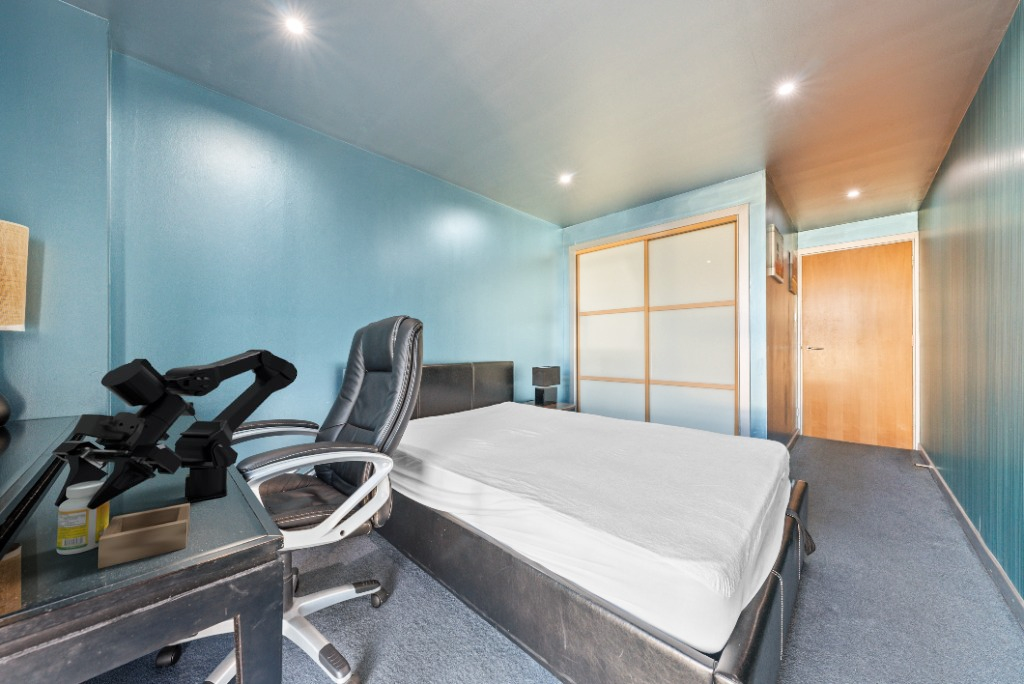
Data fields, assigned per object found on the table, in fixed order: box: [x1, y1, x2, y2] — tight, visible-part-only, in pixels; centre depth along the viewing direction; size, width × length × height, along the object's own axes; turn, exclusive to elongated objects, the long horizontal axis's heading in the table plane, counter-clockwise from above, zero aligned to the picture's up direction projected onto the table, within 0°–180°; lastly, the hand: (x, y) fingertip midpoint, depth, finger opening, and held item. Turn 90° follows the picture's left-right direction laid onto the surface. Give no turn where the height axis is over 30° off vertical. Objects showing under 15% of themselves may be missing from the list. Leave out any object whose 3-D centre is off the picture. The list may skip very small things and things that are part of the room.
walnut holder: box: [97, 502, 191, 570], centre depth 60 cm, size 9×9×4 cm
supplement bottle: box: [56, 480, 111, 556], centre depth 59 cm, size 5×5×10 cm
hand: (73, 507), depth 58 cm, fingers closed on supplement bottle, 5 cm apart
